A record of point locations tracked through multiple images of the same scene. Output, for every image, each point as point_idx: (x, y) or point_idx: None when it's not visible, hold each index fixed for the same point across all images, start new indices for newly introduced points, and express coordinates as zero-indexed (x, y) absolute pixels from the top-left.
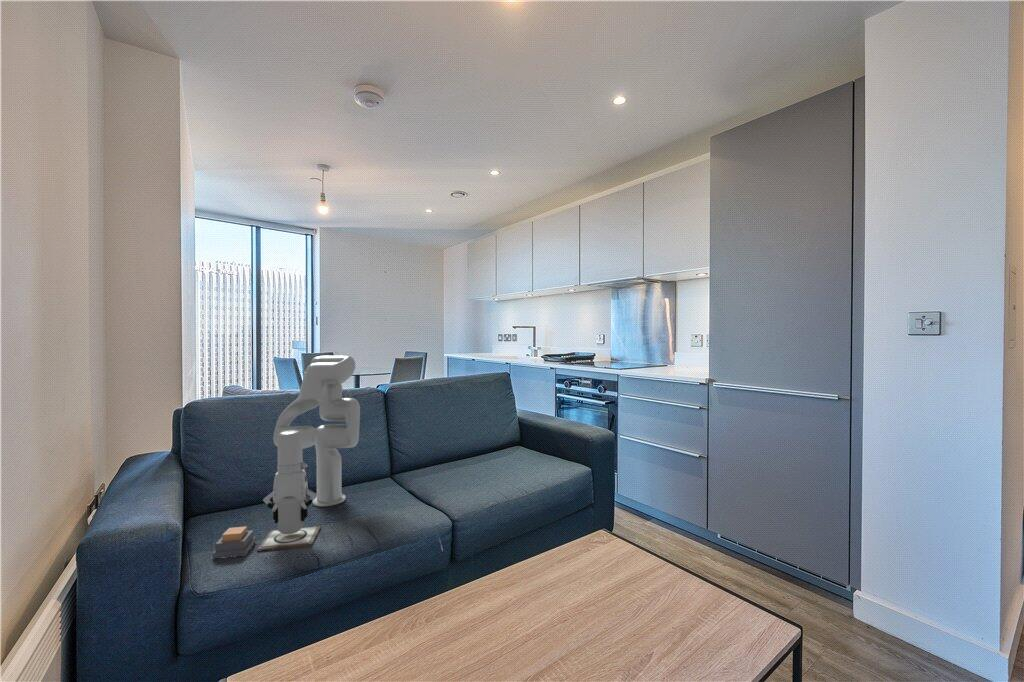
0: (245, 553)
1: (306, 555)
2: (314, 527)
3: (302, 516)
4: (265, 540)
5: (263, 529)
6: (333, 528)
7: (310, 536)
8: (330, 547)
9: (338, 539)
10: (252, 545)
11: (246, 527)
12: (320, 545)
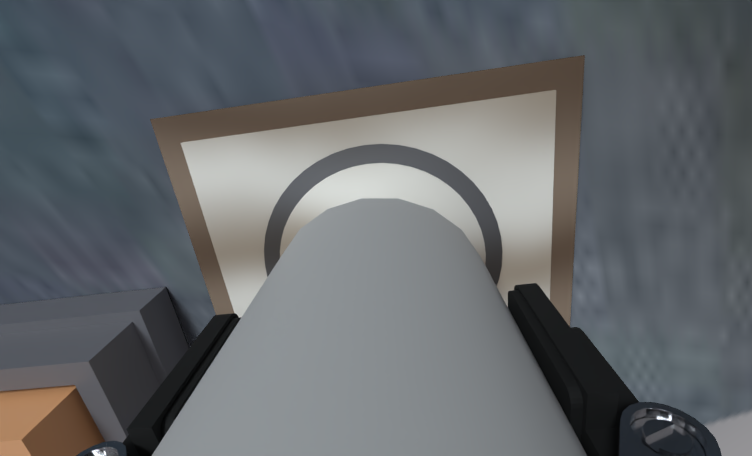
0: None
1: None
2: (534, 101)
3: None
4: (224, 300)
5: (43, 35)
6: (697, 69)
7: (539, 281)
8: (683, 383)
9: (738, 285)
10: (179, 346)
11: (32, 447)
12: (616, 354)
